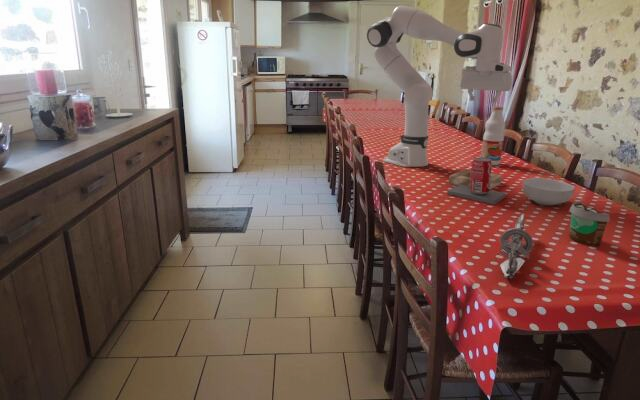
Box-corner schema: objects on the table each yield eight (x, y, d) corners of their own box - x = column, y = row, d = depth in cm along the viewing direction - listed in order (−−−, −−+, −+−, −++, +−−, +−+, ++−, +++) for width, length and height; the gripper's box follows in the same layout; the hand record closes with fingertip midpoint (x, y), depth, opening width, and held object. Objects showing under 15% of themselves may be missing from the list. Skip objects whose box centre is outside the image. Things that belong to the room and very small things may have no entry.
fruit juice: (490, 160, 221) (497, 105, 213) (504, 164, 213) (512, 107, 204) (475, 162, 218) (483, 106, 209) (489, 166, 210) (497, 108, 201)
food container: (555, 231, 131) (561, 200, 128) (574, 231, 132) (581, 200, 128) (582, 248, 119) (589, 215, 116) (603, 248, 120) (611, 214, 117)
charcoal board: (447, 194, 166) (447, 190, 166) (460, 187, 175) (460, 184, 174) (494, 204, 155) (494, 200, 154) (505, 197, 164) (506, 193, 163)
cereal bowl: (550, 212, 148) (554, 193, 145) (510, 199, 162) (513, 180, 159) (581, 205, 155) (585, 186, 153) (540, 193, 169) (543, 175, 167)
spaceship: (542, 211, 125) (516, 198, 127) (535, 272, 97) (502, 254, 99) (526, 231, 130) (502, 218, 131) (516, 295, 101) (485, 277, 103)
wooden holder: (448, 183, 180) (449, 175, 179) (464, 176, 191) (465, 168, 190) (486, 191, 170) (487, 183, 169) (500, 183, 181) (502, 175, 180)
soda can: (489, 195, 159) (493, 161, 155) (469, 194, 161) (472, 160, 157) (489, 191, 165) (492, 157, 161) (469, 189, 167) (472, 156, 164)
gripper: (459, 66, 178) (456, 100, 183) (510, 67, 165) (505, 103, 170) (465, 66, 183) (462, 99, 187) (515, 67, 170) (510, 102, 174)
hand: (483, 101), depth 178 cm, fingers open, 8 cm apart
